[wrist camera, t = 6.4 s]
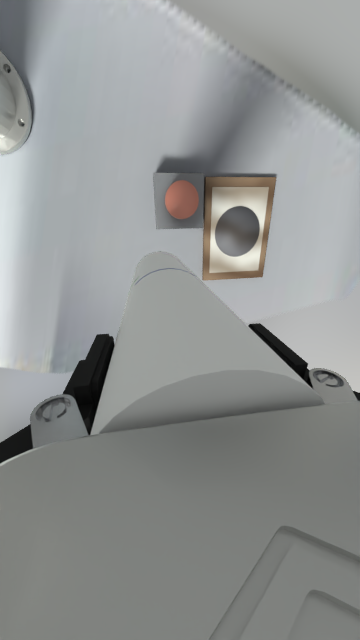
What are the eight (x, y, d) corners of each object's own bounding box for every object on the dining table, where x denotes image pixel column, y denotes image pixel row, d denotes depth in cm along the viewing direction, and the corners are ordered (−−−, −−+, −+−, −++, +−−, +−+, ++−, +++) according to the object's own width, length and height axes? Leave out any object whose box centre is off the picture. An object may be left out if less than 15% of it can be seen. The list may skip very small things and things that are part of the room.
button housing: (153, 177, 35) (153, 172, 32) (199, 177, 36) (204, 173, 33) (156, 229, 39) (157, 229, 35) (198, 227, 40) (202, 227, 36)
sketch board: (204, 177, 36) (206, 176, 36) (273, 178, 38) (276, 177, 37) (202, 279, 44) (203, 280, 43) (260, 276, 45) (262, 277, 45)
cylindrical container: (195, 284, 30) (354, 469, 7) (154, 312, 30) (178, 558, 8) (167, 240, 27) (284, 307, 4) (122, 271, 27) (11, 478, 5)
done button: (162, 184, 34) (164, 180, 31) (194, 184, 35) (198, 180, 31) (164, 220, 36) (166, 219, 33) (193, 219, 37) (198, 218, 33)
